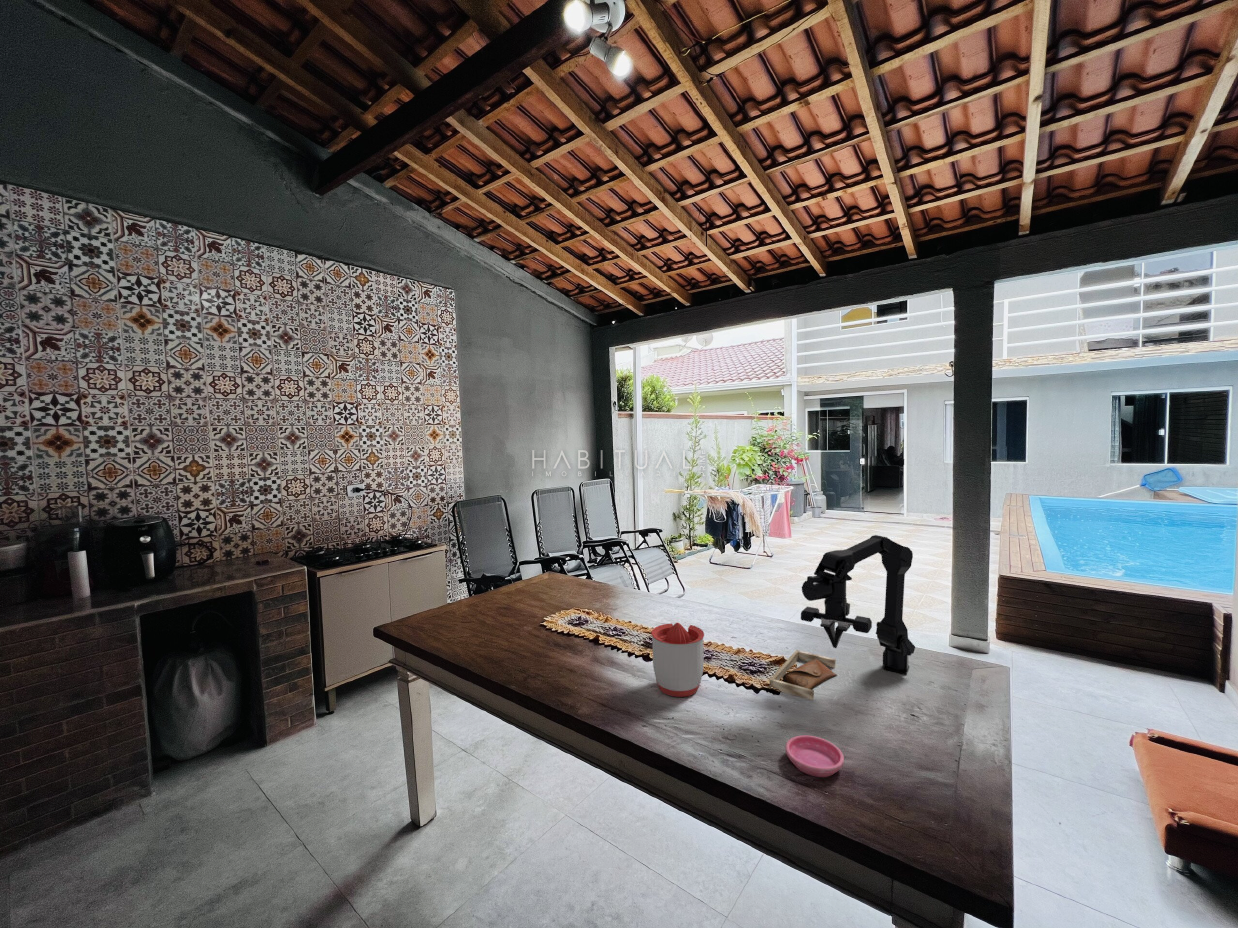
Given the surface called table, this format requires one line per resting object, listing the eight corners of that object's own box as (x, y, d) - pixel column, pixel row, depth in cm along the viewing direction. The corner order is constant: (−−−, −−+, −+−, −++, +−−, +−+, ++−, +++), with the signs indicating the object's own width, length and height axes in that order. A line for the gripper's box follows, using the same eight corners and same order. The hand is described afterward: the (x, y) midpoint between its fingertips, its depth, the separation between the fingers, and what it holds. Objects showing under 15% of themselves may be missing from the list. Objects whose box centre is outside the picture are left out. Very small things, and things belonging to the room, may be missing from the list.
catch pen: (835, 666, 162) (835, 659, 162) (812, 700, 142) (812, 691, 142) (796, 657, 169) (796, 649, 169) (769, 687, 149) (769, 679, 149)
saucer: (828, 745, 121) (828, 733, 121) (854, 781, 109) (854, 767, 109) (777, 748, 121) (777, 735, 121) (797, 783, 109) (797, 769, 108)
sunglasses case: (808, 693, 145) (797, 670, 148) (789, 697, 150) (779, 675, 152) (839, 674, 157) (828, 652, 159) (821, 678, 161) (811, 657, 164)
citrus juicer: (708, 675, 157) (707, 613, 156) (701, 704, 141) (701, 634, 140) (658, 670, 162) (657, 609, 161) (647, 698, 145) (646, 630, 144)
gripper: (875, 594, 149) (875, 645, 150) (811, 583, 160) (810, 631, 161) (868, 604, 140) (867, 659, 141) (800, 593, 152) (800, 643, 152)
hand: (835, 647), depth 149 cm, fingers closed
